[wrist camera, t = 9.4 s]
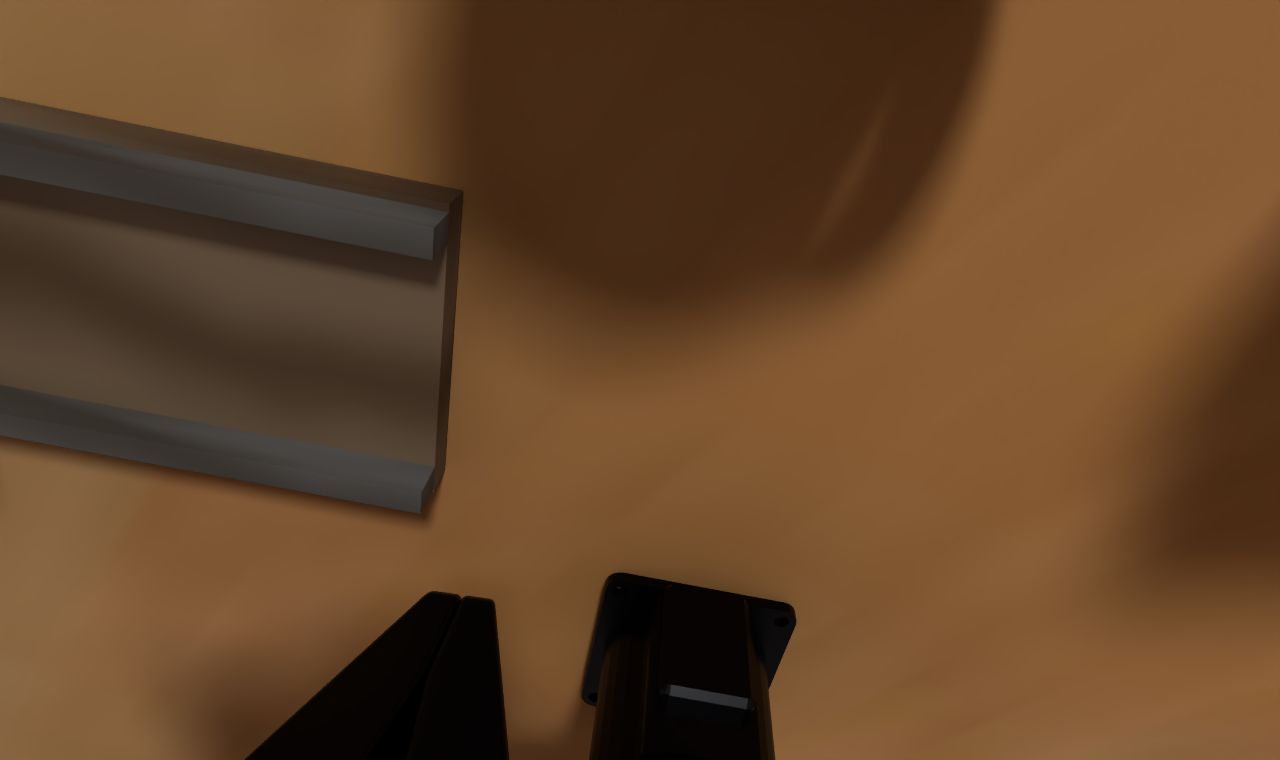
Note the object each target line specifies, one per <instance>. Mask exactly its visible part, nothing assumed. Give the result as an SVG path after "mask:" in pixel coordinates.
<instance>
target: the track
mask: <svg viewBox="0 0 1280 760" xmlns="http://www.w3.org/2000/svg"><path fill="white" fill-rule="evenodd" d="M462 202H463V191H462V190H457V189H452V188H447V187H442V186H437V185H432V184H427V183H422V182H417V181H412V180H407V179H402V178H397V177H392V176H388V175H383V174H378V173H373V172H368V171H363V170H358V169H353V168H348V167H343V166H338V165H333V164H328V163H323V162H318V161H313V160H308V159H303V158H299V157H294V156H289V155H284V154H279V153H274V152H269V151H264V150H259V149H254V148H249V147H244V146H239V145H234V144H229V143H224V142H219V141H214V140H209V139H205V138H200V137H195V136H190V135H185V134H180V133H175V132H170V131H165V130H160V129H155V128H150V127H145V126H140V125H135V124H130V123H125V122H120V121H116V120H111V119H106V118H101V117H96V116H91V115H86V114H81V113H76V112H71V111H66V110H61V109H56V108H51V107H46V106H41V105H36V104H31V103H27V102H22V101H17V100H12V99H7V98H2V97H0V436H6V437H11V438H17V439H22V440H27V441H33V442H38V443H43V444H49V445H54V446H59V447H65V448H70V449H75V450H81V451H86V452H91V453H97V454H102V455H108V456H113V457H118V458H124V459H129V460H134V461H140V462H145V463H150V464H156V465H161V466H166V467H172V468H177V469H182V470H188V471H193V472H199V473H204V474H209V475H215V476H220V477H225V478H231V479H236V480H241V481H247V482H252V483H257V484H263V485H268V486H273V487H279V488H284V489H290V490H295V491H300V492H306V493H311V494H316V495H322V496H327V497H332V498H338V499H343V500H348V501H354V502H359V503H364V504H370V505H375V506H381V507H386V508H391V509H397V510H402V511H407V512H413V513H418V514H421V512H422V510H423V508H424V506H425V504H426V502H427V500H428V498H429V496H430V494H431V493H433V492H434V490H435V488H436V486H437V484H438V482H439V480H440V478H441V476H442V474H443V472H444V470H445V461H446V445H447V430H448V415H449V400H450V385H451V369H452V354H453V339H454V324H455V309H456V293H457V278H458V263H459V248H460V233H461V218H462Z"/></svg>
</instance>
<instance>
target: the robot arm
mask: <svg viewBox="0 0 1280 760" xmlns="http://www.w3.org/2000/svg"><path fill="white" fill-rule="evenodd" d="M616 587H624V588H625V589H619V588H616ZM777 617H784V618H777ZM795 625H796V615H795V610H794V608H793V607H792V606H791V605H790V604H787V603H784V602H778V601H773V600H767V599H762V598H757V597H751V596H746V595H741V594H735V593H730V592H724V591H719V590H714V589H708V588H703V587H698V586H692V585H687V584H681V583H676V582H671V581H665V580H660V579H654V578H649V577H644V576H638V575H633V574H628V573H615V574H612V575H611V576H609V578H608V580H607V582H606V587H605V591H604V596H603V600H602V605H601V609H600V614H599V618H598V622H597V627H596V631H595V636H594V640H593V645H592V649H591V654H590V658H589V662H588V667H587V671H586V676H585V680H584V685H583V691H582V699H583V701H584V702H585V703H587V704H589V705H592V706H596V713H595V720H594V728H593V735H592V743H591V750H590V757H589V760H775V752H774V742H773V732H772V721H771V711H770V701H769V691H768V690H769V687H770V685H771V683H772V680H773V678H774V676H775V673H776V671H777V668H778V666H779V664H780V661H781V659H782V656H783V654H784V652H785V649H786V647H787V645H788V642H789V640H790V637H791V635H792V633H793V630H794V628H795ZM244 760H509V752H508V741H507V730H506V719H505V708H504V697H503V686H502V675H501V664H500V653H499V642H498V631H497V620H496V609H495V603H494V601H493V600H492V599H488V598H481V597H473V596H465V597H463V598H461V597H460V596H459V595H457V594H452V593H445V592H438V591H432V592H429V593H427V594H426V595H424V596H423V597H422V598H421V599H420V600H419V601H418V602H417V603H416V604H415V605H413V606H412V607H411V608H410V609H409V610H408V611H407V612H406V613H405V614H404V615H402V616H401V617H400V618H399V619H398V620H397V621H396V622H395V623H394V624H393V625H392V626H390V627H389V628H388V629H387V630H386V631H385V632H384V633H383V634H382V635H381V636H379V637H378V638H377V639H376V640H375V641H374V642H373V643H372V644H371V645H370V646H368V647H367V648H366V649H365V650H364V651H363V652H362V653H361V654H360V655H359V656H357V657H356V658H355V659H354V660H353V661H352V662H351V663H350V664H349V665H348V666H347V667H345V668H344V669H343V670H342V671H341V672H340V673H339V674H338V675H337V676H336V677H334V678H333V679H332V680H331V681H330V682H329V683H328V684H327V685H326V686H325V687H323V688H322V689H321V690H320V691H319V692H318V693H317V694H316V695H315V696H314V697H312V698H311V699H310V700H309V701H308V702H307V703H306V704H305V705H304V706H303V707H302V708H300V709H299V710H298V711H297V712H296V713H295V714H294V715H293V716H292V717H291V718H289V719H288V720H287V721H286V722H285V723H284V724H283V725H282V726H281V727H280V728H278V729H277V730H276V731H275V732H274V733H273V734H272V735H271V736H270V737H269V738H268V739H266V740H265V741H264V742H263V743H262V744H261V745H260V746H259V747H258V748H257V749H255V750H254V751H253V752H252V753H251V754H250V755H249V756H248V757H247V758H246V759H244Z"/></svg>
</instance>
